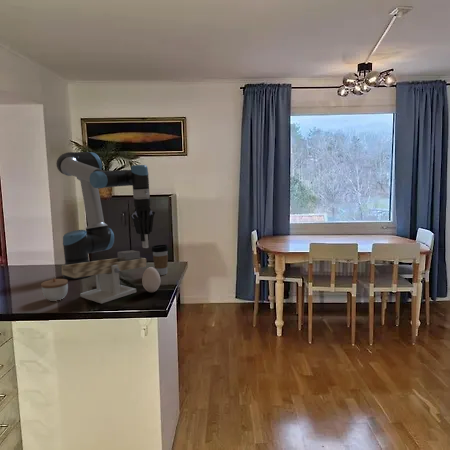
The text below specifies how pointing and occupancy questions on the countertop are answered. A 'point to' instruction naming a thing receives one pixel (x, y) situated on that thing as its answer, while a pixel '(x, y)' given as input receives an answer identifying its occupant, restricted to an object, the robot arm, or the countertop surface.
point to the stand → (108, 287)
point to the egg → (151, 279)
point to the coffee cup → (160, 258)
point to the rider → (128, 255)
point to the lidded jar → (55, 289)
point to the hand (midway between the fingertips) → (145, 247)
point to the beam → (100, 267)
